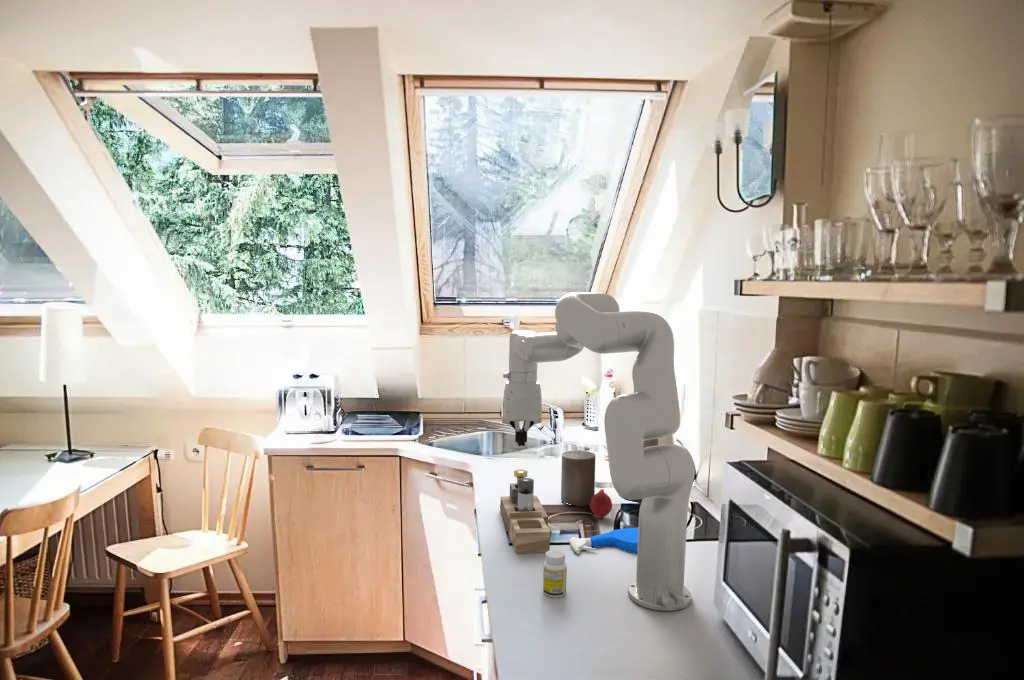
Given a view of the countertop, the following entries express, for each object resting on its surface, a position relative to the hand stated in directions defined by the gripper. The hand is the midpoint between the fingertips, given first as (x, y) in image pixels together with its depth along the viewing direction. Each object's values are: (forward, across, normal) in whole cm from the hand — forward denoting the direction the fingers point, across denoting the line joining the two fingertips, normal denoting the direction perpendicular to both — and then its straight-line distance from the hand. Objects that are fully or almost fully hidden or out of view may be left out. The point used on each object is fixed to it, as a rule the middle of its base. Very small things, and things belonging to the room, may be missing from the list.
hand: (520, 444), depth 185 cm
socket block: (+19, 0, -6) cm, 20 cm away
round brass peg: (+12, 0, 0) cm, 12 cm away
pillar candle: (+19, +18, +8) cm, 28 cm away
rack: (+19, -1, -21) cm, 28 cm away
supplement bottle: (+19, 0, -46) cm, 50 cm away
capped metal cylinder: (+19, 0, -9) cm, 21 cm away
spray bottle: (+20, +21, -24) cm, 37 cm away
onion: (+19, +21, -6) cm, 29 cm away
